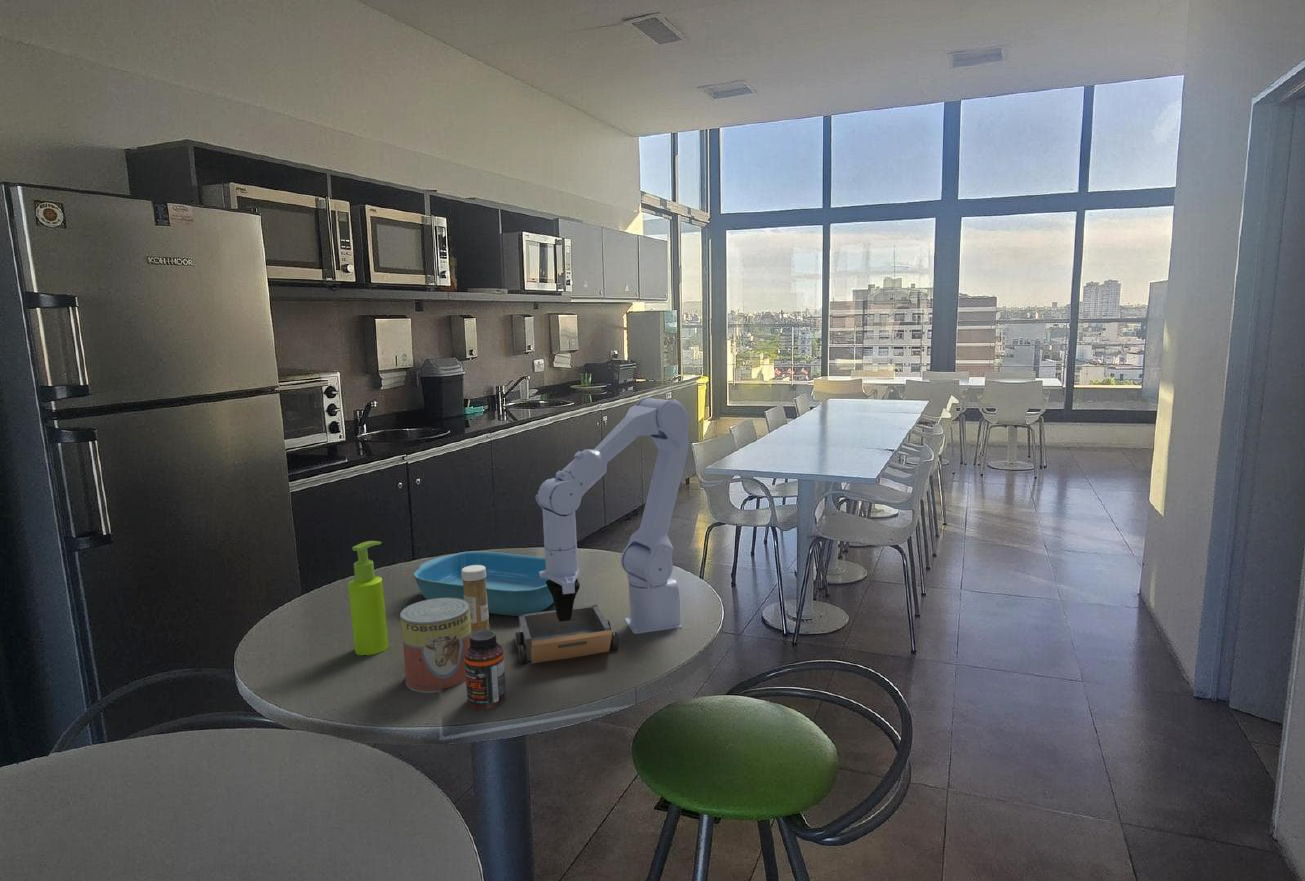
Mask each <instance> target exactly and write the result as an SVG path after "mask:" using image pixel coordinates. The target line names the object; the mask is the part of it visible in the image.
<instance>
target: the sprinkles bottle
mask: <svg viewBox="0 0 1305 881" xmlns="http://www.w3.org/2000/svg"><path fill="white" fill-rule="evenodd" d="M461 576H462V581H463V589H464V600H465V601H467V602H468V603H469V604H470V621H471V634H472V633H474V632H476V631H480V630H491V628H490V621H489V618H490V617H489V614H490V613H488V602H487V592H486V568H485V567H484V566H482V565H471V566H467V567H464V568H463V569H462V570H461Z"/></svg>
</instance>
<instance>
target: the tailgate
mask: <svg viewBox="0 0 1305 881" xmlns="http://www.w3.org/2000/svg"><path fill="white" fill-rule="evenodd" d="M612 632H613V631H612V629H611V630H607V631H600V632H593V633H586V634H579V635H572V636H565V637H558V638H551V639H544V640H537V641H532V651H531V661H530V662H531V664H535V663H541V662H549V661H555V660H556V661H557V660H561V659H569V658H576V657H582V656H589V655H595V654H601V653H602V654H603V653H609V652H610V649H609V648H610V642H611V637H612Z"/></svg>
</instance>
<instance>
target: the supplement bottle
mask: <svg viewBox="0 0 1305 881" xmlns="http://www.w3.org/2000/svg"><path fill="white" fill-rule="evenodd" d="M504 655H505V654H504V649H503V646H502V645H501V644H500V643H498V642H497V633H496V632H495V631H494V630H491V629H490V630H480V631H476V632H474V633H472V634H471V635H470V646H469V647H468V648H467V649H466V651H465V655H464V657H465V672H466V681H465V683H466V684H465V686H466V699H467V705H468V706H469V707H470V708H472V709H475V710H489V709H493V708H497V707H498V706H500V705H502V704H503V703H505V701H506V700H507V690H506V687H507V686H506V672H505V660H504V659H505V657H504Z"/></svg>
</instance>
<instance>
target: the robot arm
mask: <svg viewBox="0 0 1305 881" xmlns="http://www.w3.org/2000/svg"><path fill="white" fill-rule="evenodd" d="M690 418H691V416H690V414H689V413H688V411H687V409H686V408H685V406H684V405H683V404H682V402H680V401H679V400H676V399H661V398H653V397H649V396H647V397H642V398H641V399H639V400H638V401H637V402H636V403H635V405H632V406H631V407H629V409H628V410H627V413H626V415H625V416H624V418H623V419H621V420H620V421H619V423H617V425H616V426H615V427H614V428H612V430H611V431H610V432H609V433H608V434H607V435H606V436H605V437H604V438H603V440H602V441H600V442H599V443H598V444H597V446H596V447H594V449H587V448H586V449H583V450H582V451H580V450H579V451H577V452H576V453H575V454H574V455H573V457H574V458H573V460H572V461H570V462H569V463H568V464H567V465H566V466H565V467H564V468H563V469H562V470H558V471H557V472H556V473H555V477H552V478H548V479H546V480H544V481H543V482H542V483H541V485H540V486H539V489H538V492H537V494H535V500H536V503H537V505H538V506H539V507H540V508H541V510H542V521H543V522H542V524H543V529H542V530H543V546H544V558H545V565H546V570H544V571H540V572H539V576H540V577H541V578H548V579H550V580H547V581H546V584H547V587H548V589H549V591H550V592H551V594H552V597H553V601H554V603H553V605H554V610H556V613H557V617H558V619H559V621H560V622H561V621H568V620H571V616H572V610H573V608H574V603H575V599H576V596H577V594H578V591H579V590H580V588H581V587H580V586H581V583H580V582H579V579H578V577H579V575H580V568H579V565H578V563H579V562H578V542H577V541H578V540H577V520H576V511H577V510H578V509H579V508H580V505H581V503H582V497H583V496H584V495H585V494H586V493H587V491H589V490H590V488H592V487H593V486H594V485H595V484H596V483H597V482H598V481H599V480H600V479H601V478H602V477H604V475H605V474H606V473H607V470H608V463H609V462H610V461H611V460H612V459H614V458H615V457H616V456H617V455H618V454H620V453H621V452H622V451H623V450H625V449H626V447H628V446H629V445H630V444H631V443H632V442H634V440H636V439H637V438H638V437H643V436H644V437H645V436H649V438H651V440H652V441H653V443H654V444H655V446H656V447H657V449H658V451H657V452H658V453H657V457H656V461H655V465H654V468H653V472H652V477H651V479H650V480H651V481H650V486H649V489H648V492H647V493H648V494H647V498H646V501H645V505H644V509H643V512H642V517H641V522H640V526H639V529H637V530H636V531H635V532H634V533H632V534H631V535H630V538H629V539H628V540H629V541H628V543H627V546H626V547H625V548H624V549H623V551H622V554H621V555H620V556H621V557H620V564H621V567H622V569H623V571H624V572H625V573H626V574H627V580H628V595H629V596H628V599H629V602H628V603H629V617H626V618H624V621H625V623H626V624H627V626H628V627H629V629H630V630H631V631H632V634H635V635H637V634H643V633H651V632H659V631H665V630H671V629H682V624H681V600H680V599H681V598H680V596H681V595H680V590H679V585H678V583H677V580H676V578H674V577H673V578H672V577H671V576H672V573H673V569H674V564H673V563H674V562H673V553H674V547H673V544H672V542H671V540H670V538H669V535H668V533H669V531H670V527H671V522H672V518H673V514H674V510H675V506H676V501H677V498H678V494H679V490H680V484H681V480H682V477H683V473H684V469H685V465H686V462H687V461H686V460H687V456H688V452H689V446H690V443H689V442H690V440H689V434H688V426H689V422H690Z"/></svg>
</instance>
